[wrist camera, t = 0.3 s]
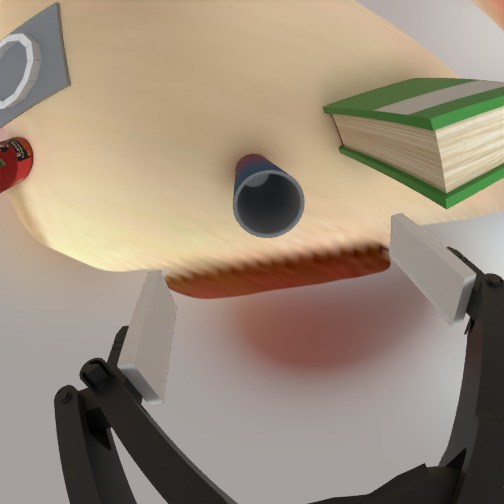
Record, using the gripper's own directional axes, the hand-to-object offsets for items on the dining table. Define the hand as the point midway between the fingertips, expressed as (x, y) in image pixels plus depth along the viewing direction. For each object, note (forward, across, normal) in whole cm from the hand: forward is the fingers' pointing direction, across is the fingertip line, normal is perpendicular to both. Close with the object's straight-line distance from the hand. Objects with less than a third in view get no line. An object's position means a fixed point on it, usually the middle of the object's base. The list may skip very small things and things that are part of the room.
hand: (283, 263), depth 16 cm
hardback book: (+28, +22, +4) cm, 36 cm away
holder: (+28, -32, +28) cm, 51 cm away
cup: (+28, +1, -1) cm, 28 cm away
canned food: (+28, -36, +13) cm, 47 cm away
